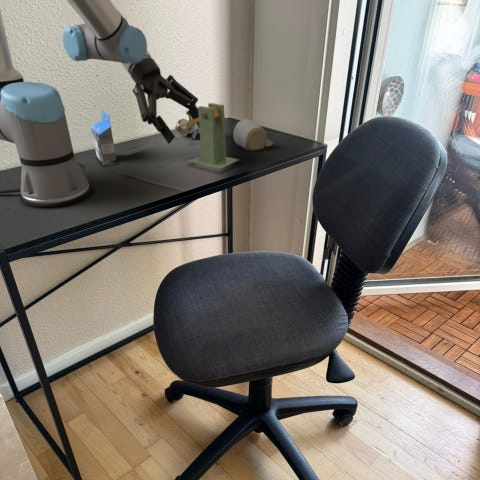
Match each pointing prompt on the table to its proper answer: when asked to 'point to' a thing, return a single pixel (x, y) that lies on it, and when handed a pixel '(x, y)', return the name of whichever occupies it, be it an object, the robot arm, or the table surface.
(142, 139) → the table surface
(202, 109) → the bracket
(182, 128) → the lever
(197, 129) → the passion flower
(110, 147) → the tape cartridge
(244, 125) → the ceramic mug
